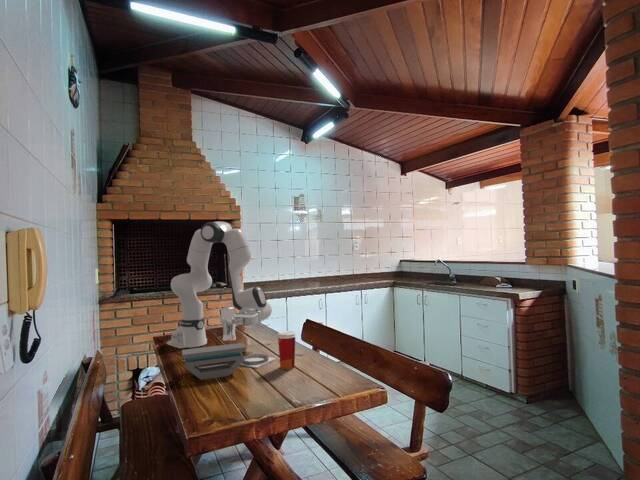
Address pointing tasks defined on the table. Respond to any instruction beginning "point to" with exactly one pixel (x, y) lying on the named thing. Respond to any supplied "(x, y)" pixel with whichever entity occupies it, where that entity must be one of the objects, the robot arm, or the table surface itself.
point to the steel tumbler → (228, 323)
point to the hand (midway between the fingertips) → (227, 321)
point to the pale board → (258, 360)
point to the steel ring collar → (255, 361)
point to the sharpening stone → (213, 360)
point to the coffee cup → (286, 349)
